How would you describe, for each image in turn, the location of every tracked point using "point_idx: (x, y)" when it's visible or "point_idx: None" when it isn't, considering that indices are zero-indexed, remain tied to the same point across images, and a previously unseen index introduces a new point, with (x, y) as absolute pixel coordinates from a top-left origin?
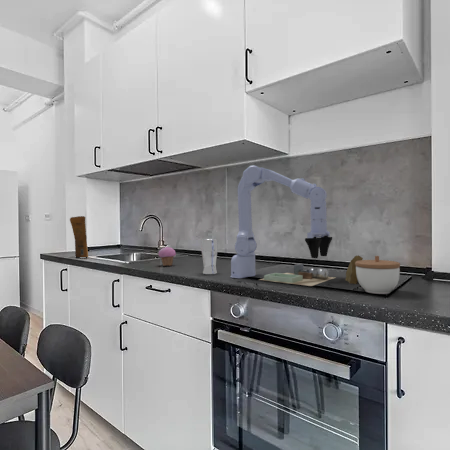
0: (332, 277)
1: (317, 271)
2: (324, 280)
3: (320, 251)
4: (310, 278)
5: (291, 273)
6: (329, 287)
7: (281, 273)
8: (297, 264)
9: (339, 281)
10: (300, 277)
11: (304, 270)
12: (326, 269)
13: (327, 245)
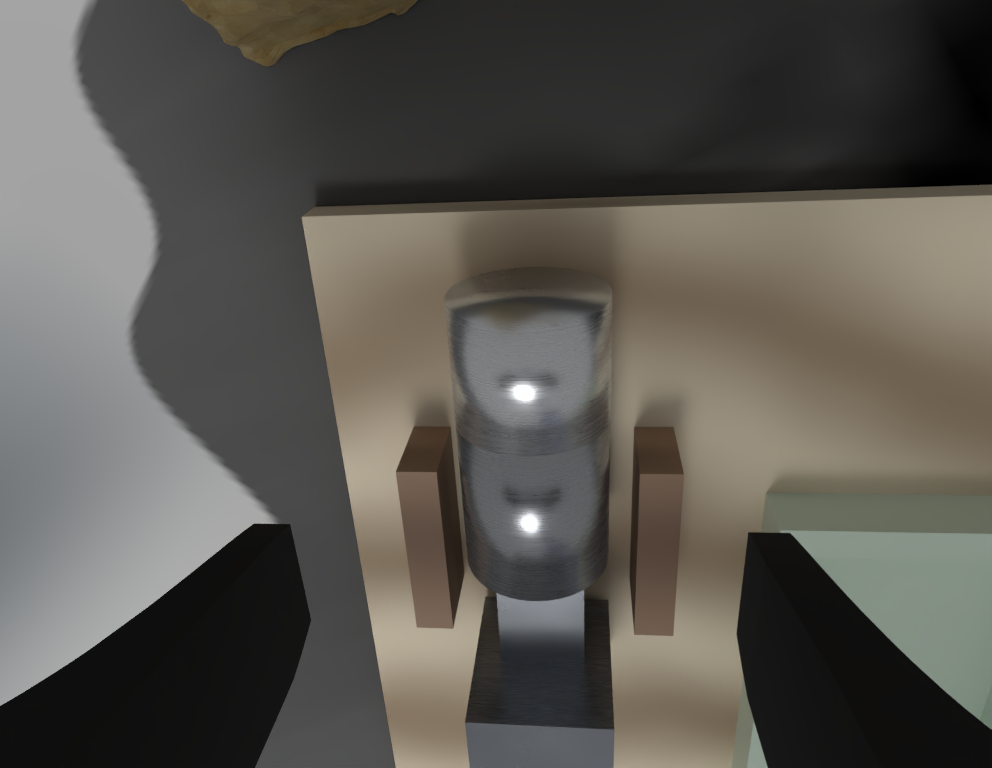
0: (338, 260)
1: (598, 424)
2: (656, 242)
3: (272, 709)
4: (674, 439)
5: (408, 744)
6: (948, 16)
7: (758, 764)
8: (554, 763)
9: (370, 123)
10: (840, 518)
11: (570, 611)
12: (514, 323)
13: (132, 711)
